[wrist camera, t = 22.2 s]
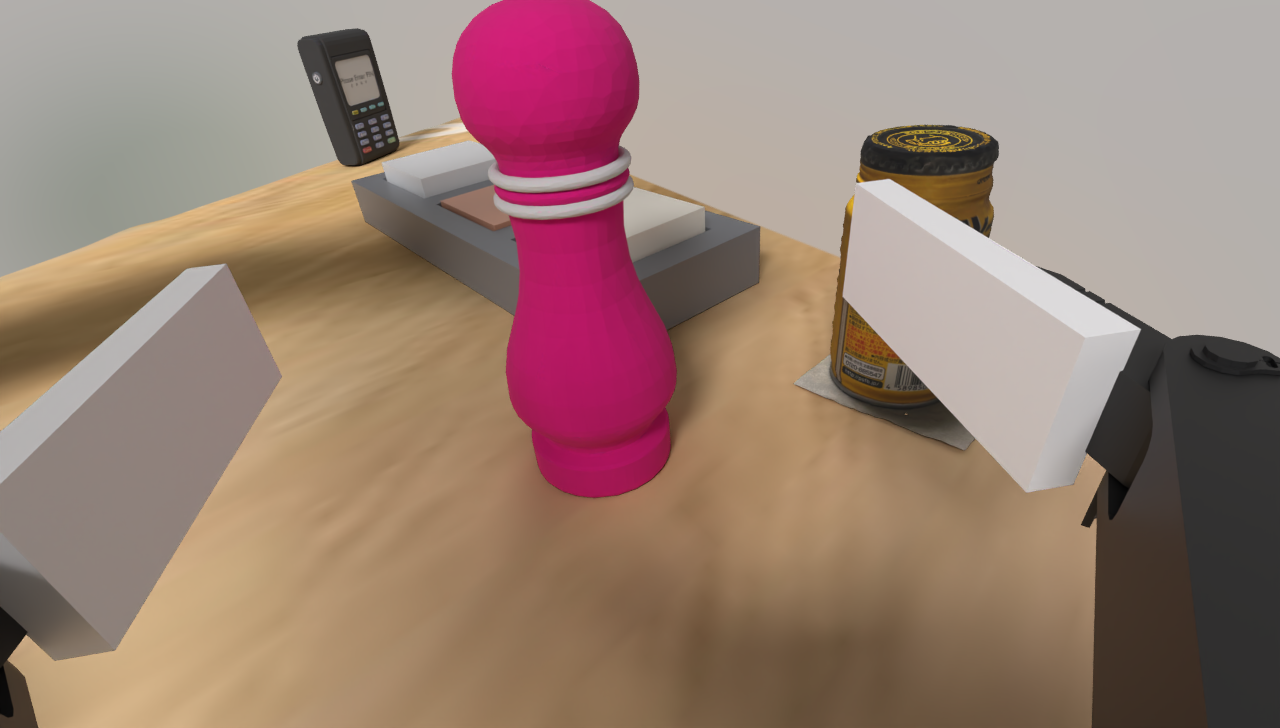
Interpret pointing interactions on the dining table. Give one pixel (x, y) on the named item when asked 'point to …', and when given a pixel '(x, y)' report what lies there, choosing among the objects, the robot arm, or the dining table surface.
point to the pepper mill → (570, 238)
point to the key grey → (440, 169)
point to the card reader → (350, 94)
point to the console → (490, 258)
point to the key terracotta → (478, 208)
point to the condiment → (860, 359)
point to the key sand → (659, 222)
